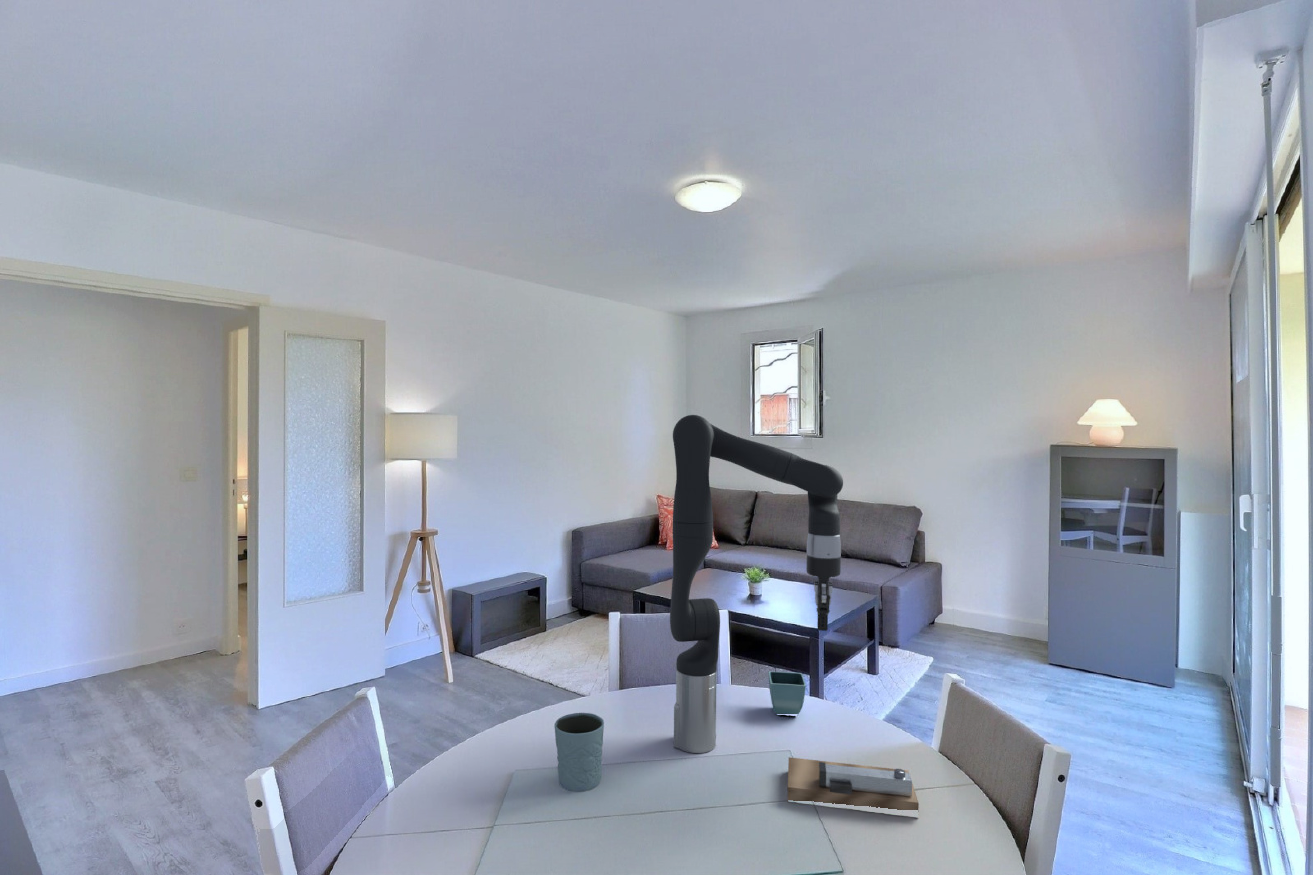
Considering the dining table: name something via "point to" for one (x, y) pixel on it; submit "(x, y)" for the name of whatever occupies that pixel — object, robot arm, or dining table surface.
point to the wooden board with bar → (839, 788)
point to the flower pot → (787, 692)
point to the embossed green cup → (579, 751)
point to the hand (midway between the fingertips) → (822, 629)
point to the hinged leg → (867, 779)
